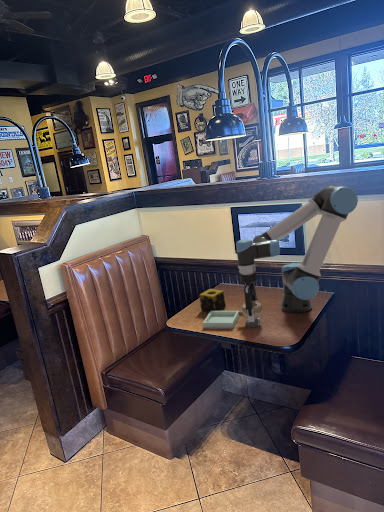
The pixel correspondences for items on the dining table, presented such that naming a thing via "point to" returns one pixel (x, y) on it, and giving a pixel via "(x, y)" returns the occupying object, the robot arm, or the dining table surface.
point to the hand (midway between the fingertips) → (253, 317)
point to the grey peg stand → (253, 323)
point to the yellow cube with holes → (212, 300)
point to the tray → (221, 320)
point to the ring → (256, 309)
